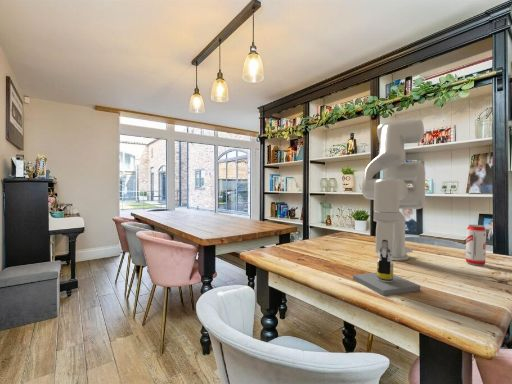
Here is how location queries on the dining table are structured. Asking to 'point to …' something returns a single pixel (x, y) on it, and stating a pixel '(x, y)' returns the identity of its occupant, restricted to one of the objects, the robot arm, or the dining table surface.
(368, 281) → the slate board
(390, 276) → the supplement bottle
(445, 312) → the dining table surface
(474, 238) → the beer can
